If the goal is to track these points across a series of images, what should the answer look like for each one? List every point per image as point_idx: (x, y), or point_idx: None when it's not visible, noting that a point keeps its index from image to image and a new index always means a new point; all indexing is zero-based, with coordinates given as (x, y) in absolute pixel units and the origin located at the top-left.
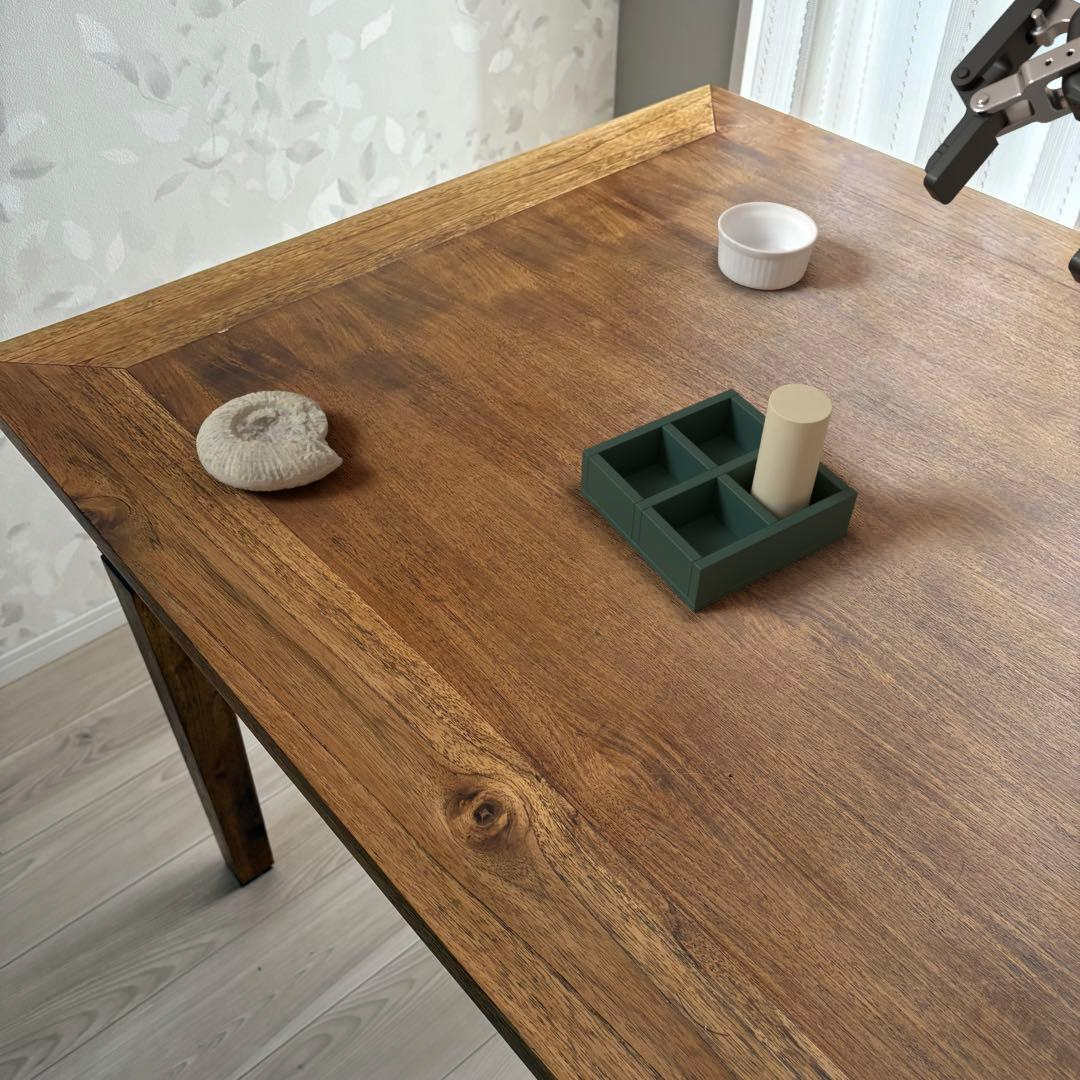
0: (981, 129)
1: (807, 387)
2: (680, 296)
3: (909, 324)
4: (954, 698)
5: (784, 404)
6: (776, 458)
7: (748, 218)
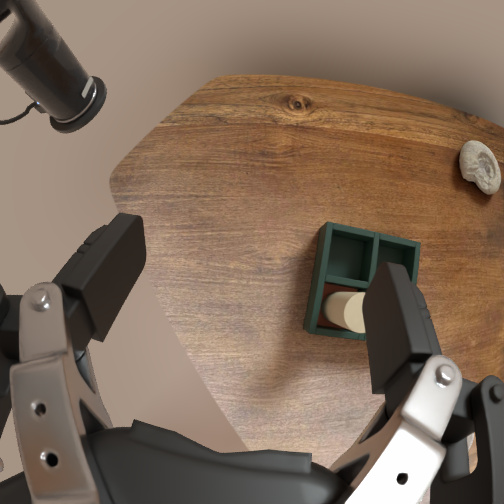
0: (404, 345)
1: None
2: None
3: None
4: (203, 278)
5: None
6: (349, 292)
7: None
